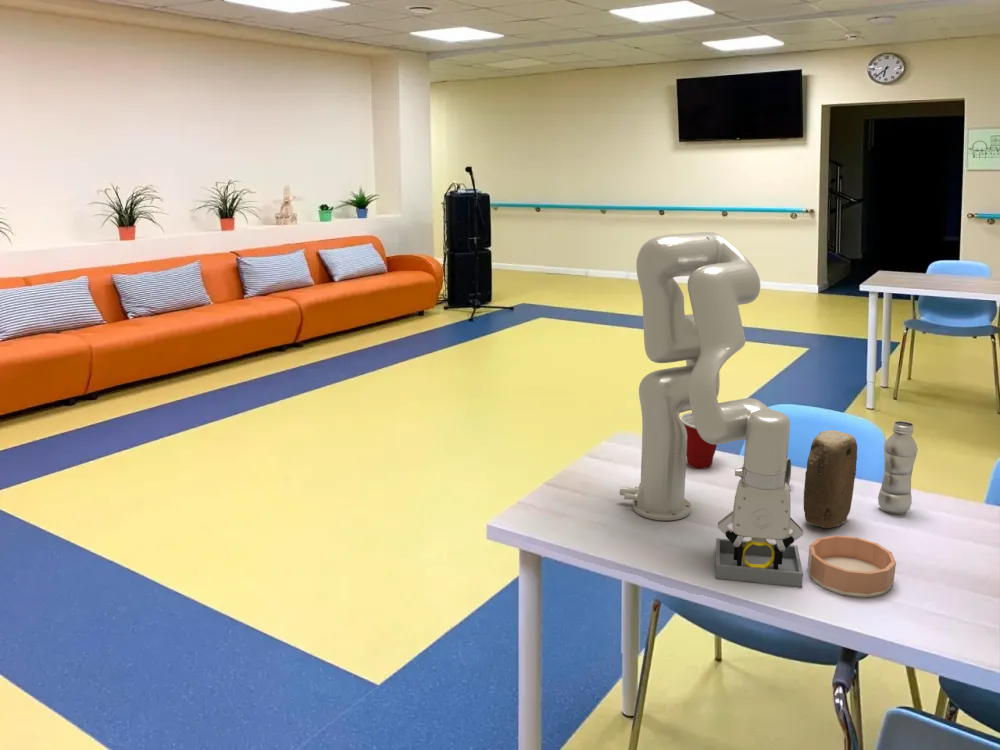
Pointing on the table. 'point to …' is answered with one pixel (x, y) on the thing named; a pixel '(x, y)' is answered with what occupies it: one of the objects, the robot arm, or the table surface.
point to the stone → (830, 479)
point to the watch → (759, 543)
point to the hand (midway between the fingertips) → (757, 564)
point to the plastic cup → (697, 445)
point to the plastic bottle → (898, 469)
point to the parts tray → (785, 575)
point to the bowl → (851, 566)
